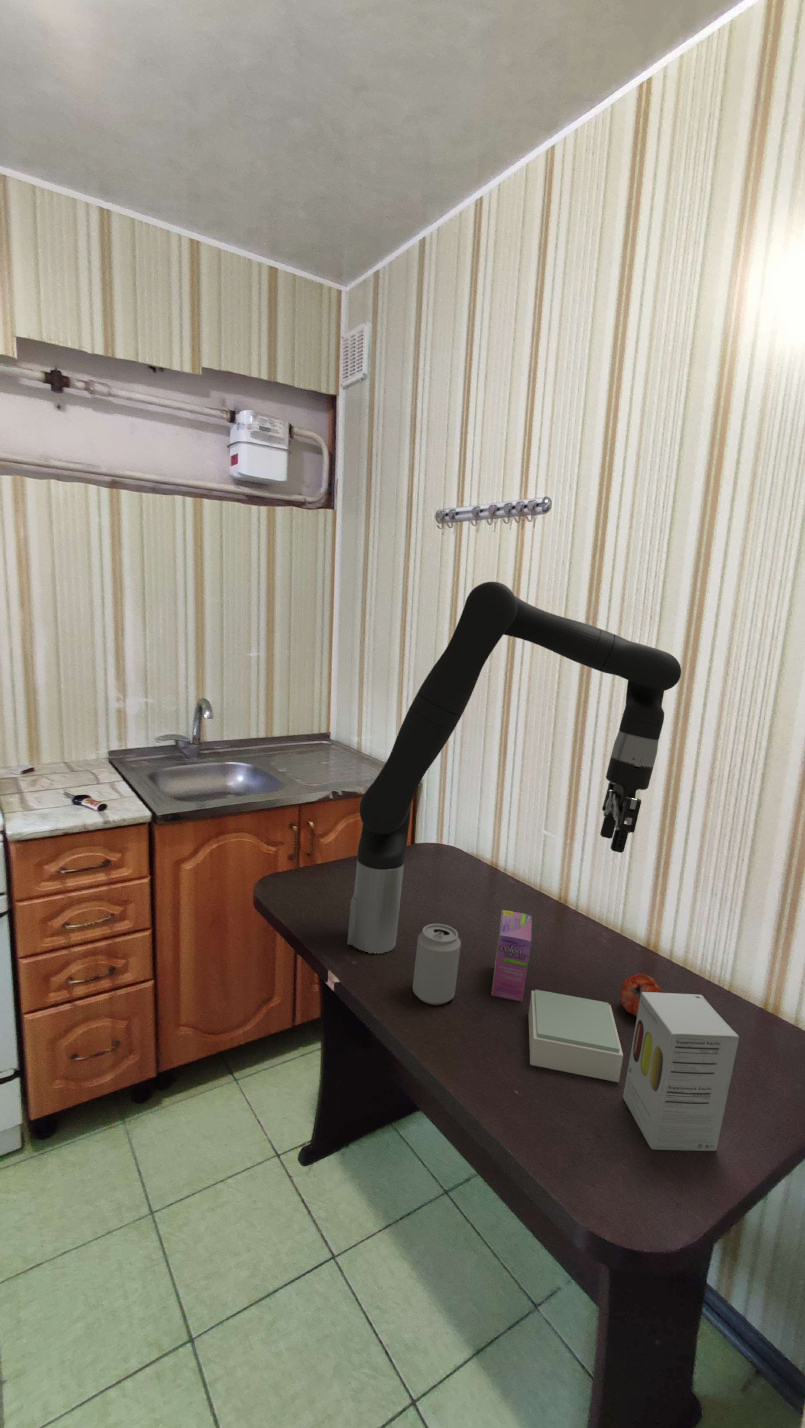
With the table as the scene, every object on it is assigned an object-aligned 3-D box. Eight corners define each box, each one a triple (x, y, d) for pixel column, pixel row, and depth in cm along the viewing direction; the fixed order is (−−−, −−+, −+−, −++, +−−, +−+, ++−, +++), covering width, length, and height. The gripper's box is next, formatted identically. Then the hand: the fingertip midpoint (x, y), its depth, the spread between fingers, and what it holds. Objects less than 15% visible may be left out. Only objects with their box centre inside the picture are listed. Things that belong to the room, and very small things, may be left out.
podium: (530, 1064, 98) (534, 1034, 97) (528, 1014, 111) (532, 987, 110) (618, 1082, 96) (623, 1051, 95) (606, 1028, 109) (611, 1001, 108)
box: (523, 1002, 114) (531, 940, 112) (490, 996, 115) (498, 934, 113) (524, 972, 124) (532, 914, 122) (494, 966, 125) (501, 909, 123)
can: (459, 989, 116) (466, 927, 114) (448, 1012, 109) (456, 946, 107) (419, 978, 118) (426, 917, 117) (406, 1000, 111) (413, 935, 110)
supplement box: (620, 1096, 93) (638, 989, 90) (681, 1098, 94) (701, 991, 91) (651, 1152, 84) (672, 1033, 81) (719, 1153, 85) (741, 1035, 82)
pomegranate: (625, 1009, 119) (602, 989, 113) (649, 977, 120) (627, 956, 114) (657, 1037, 113) (635, 1018, 107) (682, 1003, 114) (661, 982, 108)
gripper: (603, 749, 125) (583, 829, 127) (621, 761, 111) (599, 851, 113) (642, 757, 125) (621, 837, 127) (665, 771, 111) (642, 861, 112)
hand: (611, 844), depth 120 cm, fingers open, 8 cm apart
